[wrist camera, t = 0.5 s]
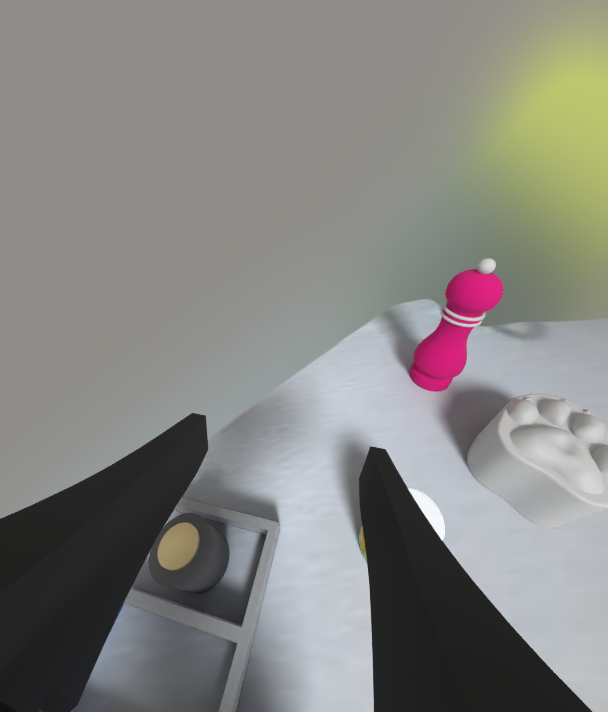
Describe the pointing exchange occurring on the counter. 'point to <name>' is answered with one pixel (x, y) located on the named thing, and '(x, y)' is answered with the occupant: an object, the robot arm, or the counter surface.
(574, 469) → the lumpy-topped squat cylinder
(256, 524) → the grey divided frame
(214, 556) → the plug
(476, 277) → the pepper mill
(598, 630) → the counter surface
